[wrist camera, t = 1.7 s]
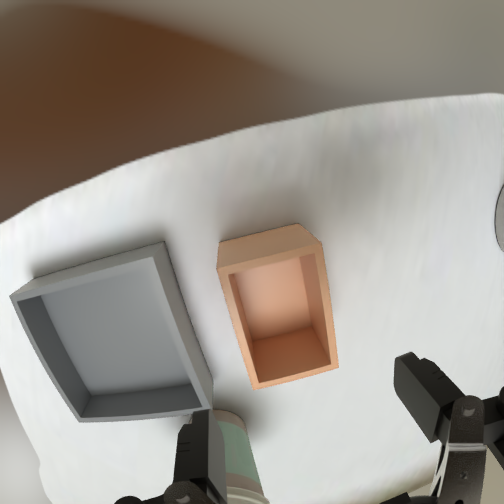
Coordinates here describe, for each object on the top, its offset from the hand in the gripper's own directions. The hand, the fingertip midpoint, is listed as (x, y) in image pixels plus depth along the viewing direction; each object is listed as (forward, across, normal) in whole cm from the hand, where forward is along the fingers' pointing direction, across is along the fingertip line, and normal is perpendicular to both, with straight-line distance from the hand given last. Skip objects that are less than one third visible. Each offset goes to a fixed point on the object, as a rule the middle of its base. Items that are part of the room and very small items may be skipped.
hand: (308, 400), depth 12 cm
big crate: (+13, +13, +1) cm, 19 cm away
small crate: (+13, 0, 0) cm, 13 cm away
